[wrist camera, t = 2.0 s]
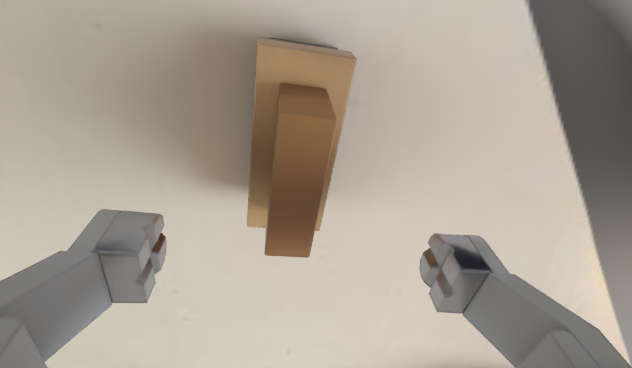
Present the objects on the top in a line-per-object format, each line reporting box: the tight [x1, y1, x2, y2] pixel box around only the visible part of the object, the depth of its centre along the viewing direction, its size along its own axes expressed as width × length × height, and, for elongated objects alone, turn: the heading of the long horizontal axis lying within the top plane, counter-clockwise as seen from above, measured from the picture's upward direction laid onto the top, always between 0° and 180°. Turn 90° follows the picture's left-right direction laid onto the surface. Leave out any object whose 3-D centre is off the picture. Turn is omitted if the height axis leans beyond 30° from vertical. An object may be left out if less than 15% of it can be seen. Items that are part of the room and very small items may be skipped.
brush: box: [247, 38, 357, 257], centre depth 14 cm, size 8×4×6 cm, turn 171°
